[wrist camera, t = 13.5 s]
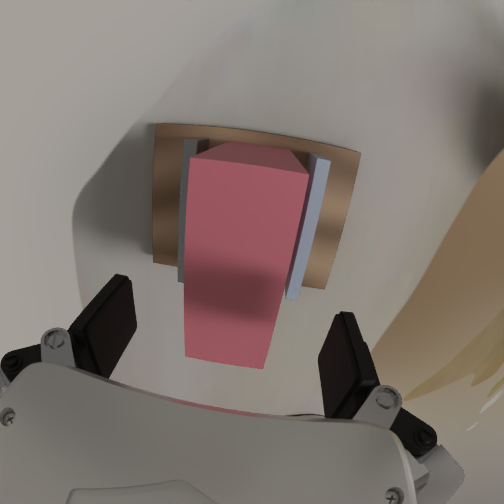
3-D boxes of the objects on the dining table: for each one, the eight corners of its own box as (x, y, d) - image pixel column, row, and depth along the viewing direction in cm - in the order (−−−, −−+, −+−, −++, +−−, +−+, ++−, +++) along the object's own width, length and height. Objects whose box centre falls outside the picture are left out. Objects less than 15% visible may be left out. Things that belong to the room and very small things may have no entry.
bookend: (199, 261, 27) (188, 283, 23) (189, 260, 27) (177, 281, 23) (209, 137, 21) (197, 140, 18) (198, 136, 21) (184, 139, 18)
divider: (294, 276, 27) (296, 300, 23) (284, 275, 27) (285, 299, 23) (321, 154, 21) (330, 161, 18) (309, 152, 21) (317, 158, 18)
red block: (267, 273, 27) (262, 369, 16) (216, 265, 27) (185, 356, 16) (289, 149, 21) (309, 174, 11) (230, 140, 21) (190, 157, 11)
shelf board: (322, 281, 29) (324, 289, 27) (158, 255, 29) (153, 262, 27) (356, 151, 22) (361, 153, 21) (162, 123, 22) (156, 123, 21)
